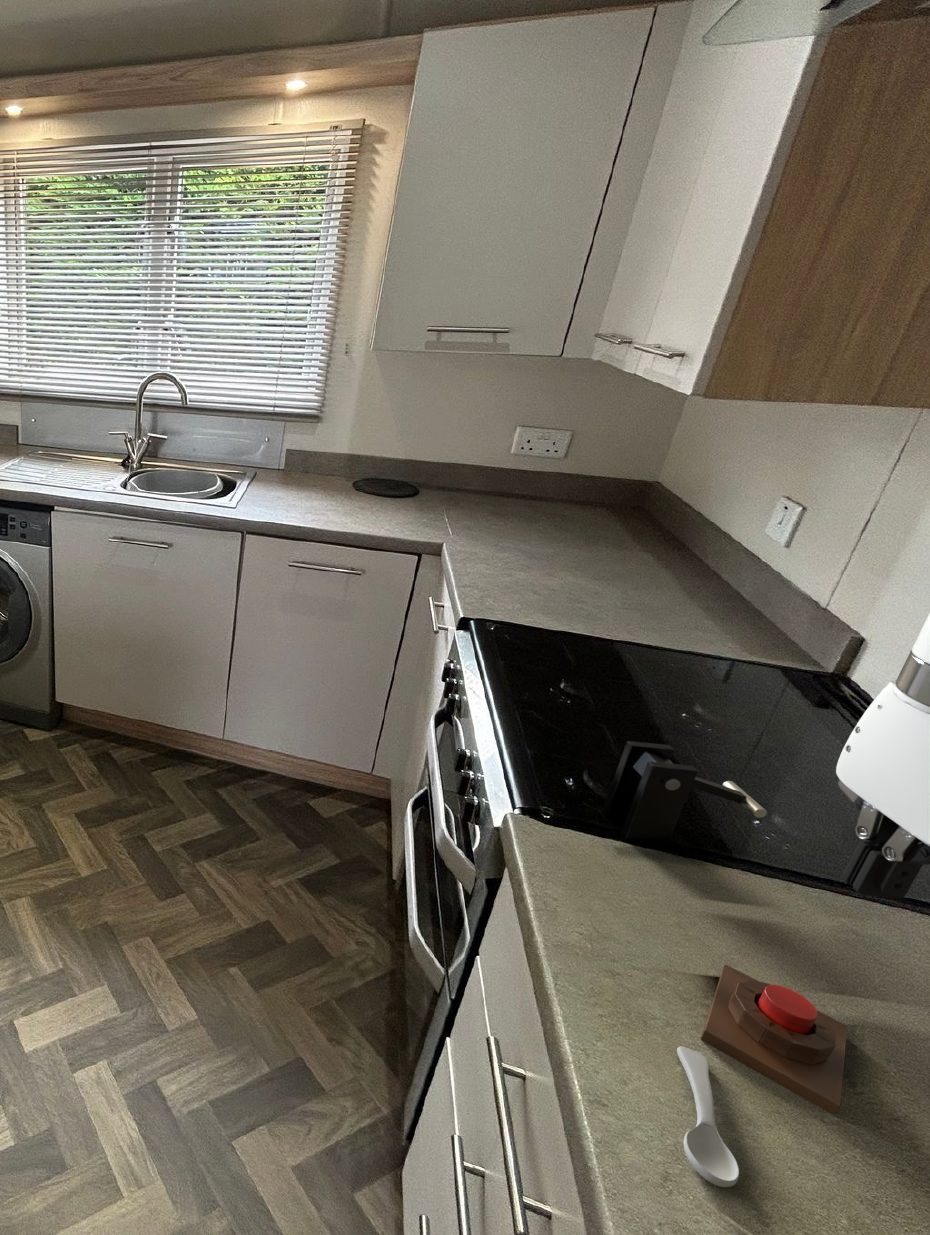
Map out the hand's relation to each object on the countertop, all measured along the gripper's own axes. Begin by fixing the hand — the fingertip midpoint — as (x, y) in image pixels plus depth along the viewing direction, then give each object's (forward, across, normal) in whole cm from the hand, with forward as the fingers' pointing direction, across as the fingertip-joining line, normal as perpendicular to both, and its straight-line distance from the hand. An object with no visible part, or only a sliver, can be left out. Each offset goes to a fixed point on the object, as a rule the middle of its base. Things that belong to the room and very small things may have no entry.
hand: (871, 888), depth 57 cm
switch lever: (+7, +22, -2) cm, 23 cm away
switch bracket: (+15, +22, +2) cm, 27 cm away
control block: (+15, -3, +4) cm, 15 cm away
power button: (+12, -3, +4) cm, 13 cm away
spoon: (+15, -11, +15) cm, 24 cm away
